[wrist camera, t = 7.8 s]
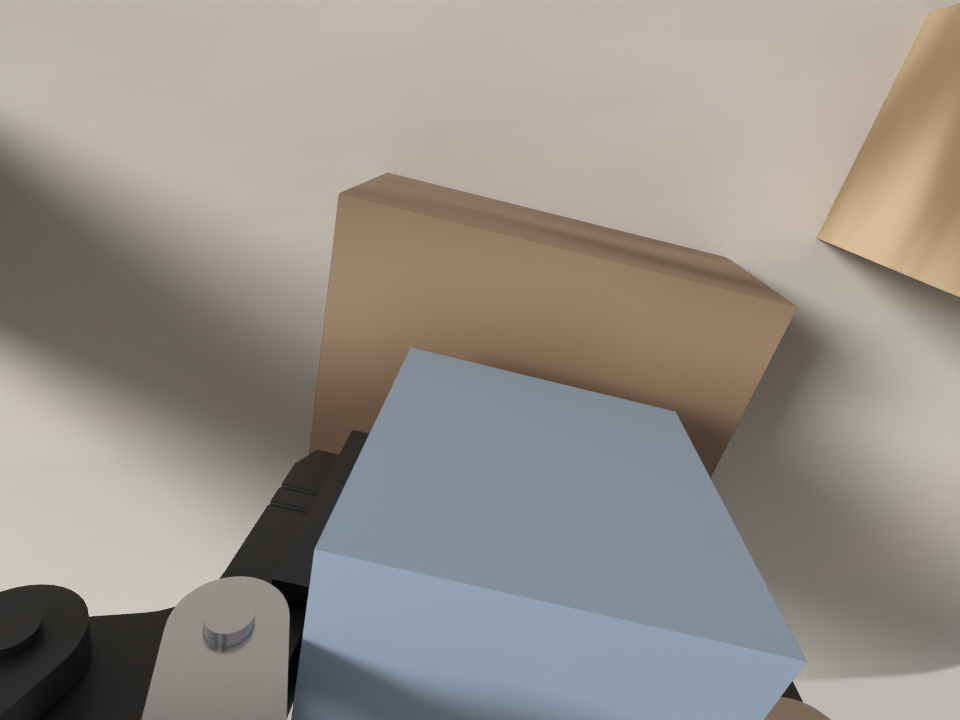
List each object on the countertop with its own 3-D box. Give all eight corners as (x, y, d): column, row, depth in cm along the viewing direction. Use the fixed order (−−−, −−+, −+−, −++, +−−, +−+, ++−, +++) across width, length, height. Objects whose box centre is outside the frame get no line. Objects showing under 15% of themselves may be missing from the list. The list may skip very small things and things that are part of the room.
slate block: (411, 347, 10) (314, 549, 5) (675, 411, 10) (807, 662, 5) (370, 550, 12) (277, 820, 7) (590, 600, 12) (633, 895, 7)
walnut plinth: (387, 173, 14) (339, 193, 10) (725, 257, 14) (797, 307, 10) (344, 457, 17) (298, 547, 14) (612, 519, 18) (636, 623, 14)
